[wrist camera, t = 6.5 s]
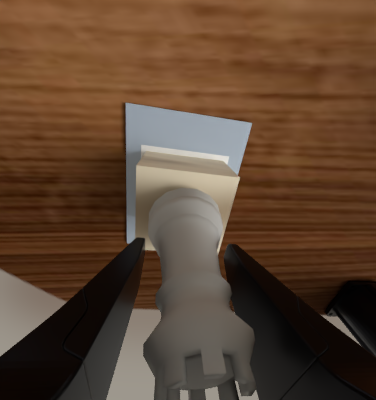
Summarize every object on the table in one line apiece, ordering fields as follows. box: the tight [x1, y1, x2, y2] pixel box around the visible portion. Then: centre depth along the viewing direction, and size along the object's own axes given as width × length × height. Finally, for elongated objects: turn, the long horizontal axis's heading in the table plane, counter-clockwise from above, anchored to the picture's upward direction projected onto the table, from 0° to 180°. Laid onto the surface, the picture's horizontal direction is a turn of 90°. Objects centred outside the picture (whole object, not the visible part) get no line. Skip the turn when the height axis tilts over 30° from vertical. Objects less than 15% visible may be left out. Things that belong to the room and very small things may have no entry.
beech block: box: [135, 151, 240, 253], centre depth 13 cm, size 6×6×4 cm
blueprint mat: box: [126, 103, 252, 243], centre depth 15 cm, size 12×9×1 cm
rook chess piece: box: [143, 188, 257, 400], centre depth 8 cm, size 4×4×8 cm
